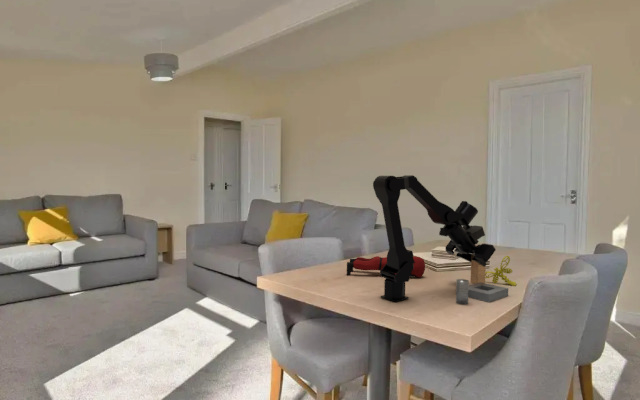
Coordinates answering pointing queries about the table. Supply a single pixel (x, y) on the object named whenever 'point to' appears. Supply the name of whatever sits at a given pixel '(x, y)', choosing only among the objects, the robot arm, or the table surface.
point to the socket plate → (486, 292)
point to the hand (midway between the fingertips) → (481, 264)
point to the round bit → (462, 291)
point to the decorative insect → (502, 273)
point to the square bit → (477, 272)
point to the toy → (379, 263)
